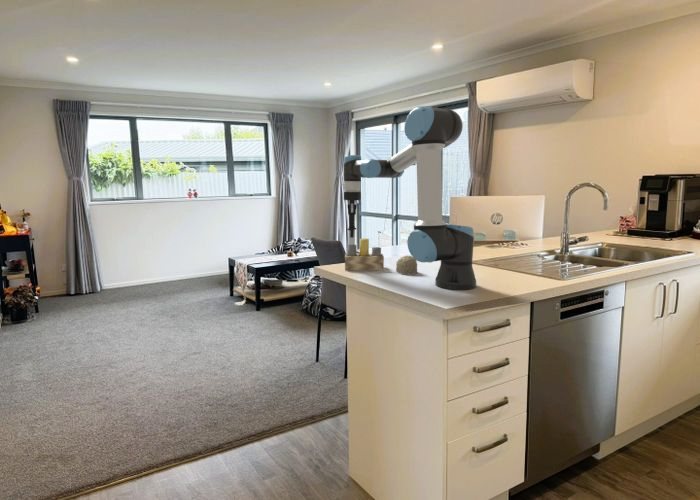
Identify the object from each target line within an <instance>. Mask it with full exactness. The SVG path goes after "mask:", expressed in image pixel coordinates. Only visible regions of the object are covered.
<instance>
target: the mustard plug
mask: <svg viewBox="0 0 700 500" xmlns="http://www.w3.org/2000/svg"><path fill="white" fill-rule="evenodd" d="M369 245H370V238H359V254H360V256H369V254H370V252H369V250H370V246H369Z"/></svg>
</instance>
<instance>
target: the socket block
mask: <svg viewBox="0 0 700 500" xmlns="http://www.w3.org/2000/svg"><path fill="white" fill-rule="evenodd" d="M344 254H345V255H344V271H384V269H385V267H384V266H385V265H384V264H385V259H384V254H383V253H381V256H372V253H369V256H360V253H356V256H347V253H344Z"/></svg>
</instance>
